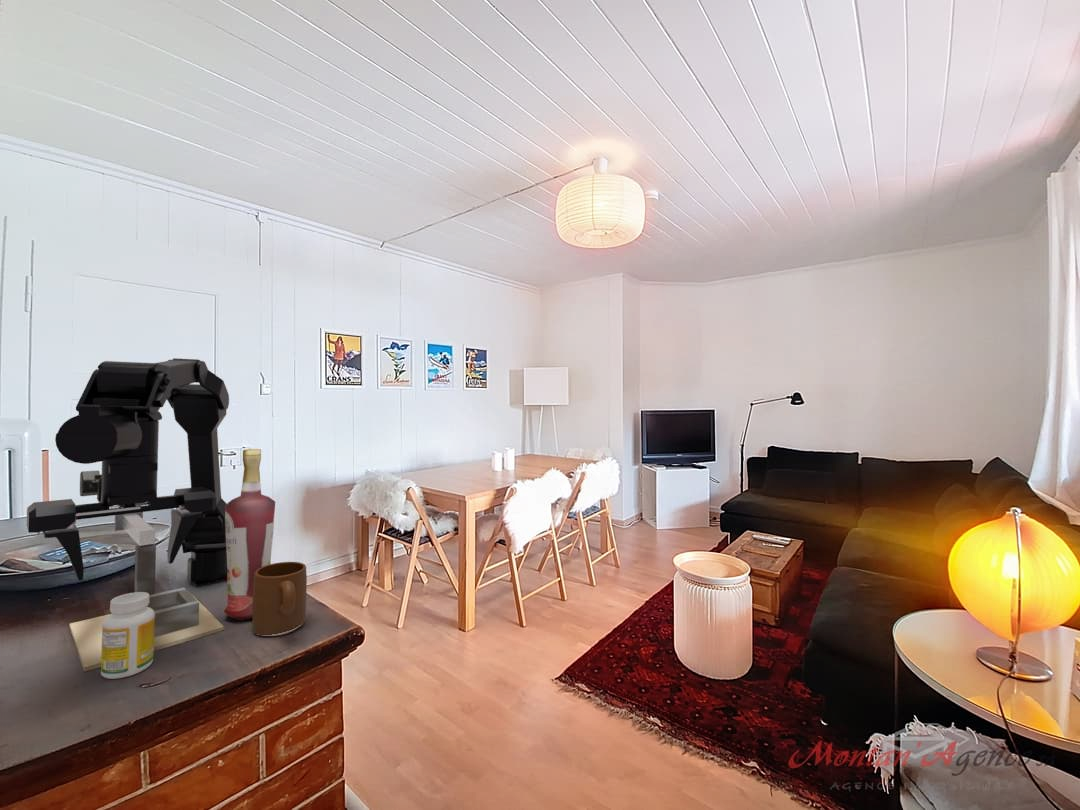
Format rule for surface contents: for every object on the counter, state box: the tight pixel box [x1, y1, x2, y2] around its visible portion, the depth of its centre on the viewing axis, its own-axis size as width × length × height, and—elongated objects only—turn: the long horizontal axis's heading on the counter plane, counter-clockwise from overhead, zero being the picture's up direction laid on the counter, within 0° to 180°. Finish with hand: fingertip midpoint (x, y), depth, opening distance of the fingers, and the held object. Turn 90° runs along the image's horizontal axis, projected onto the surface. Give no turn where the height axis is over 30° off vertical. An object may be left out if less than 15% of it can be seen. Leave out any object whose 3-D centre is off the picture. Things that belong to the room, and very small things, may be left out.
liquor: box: [223, 448, 276, 621], centre depth 81 cm, size 7×7×28 cm
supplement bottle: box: [100, 592, 155, 680], centre depth 64 cm, size 5×5×10 cm
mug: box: [252, 561, 308, 636], centre depth 75 cm, size 12×8×9 cm, turn 37°
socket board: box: [69, 544, 225, 673], centre depth 75 cm, size 16×18×11 cm
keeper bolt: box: [114, 512, 156, 546], centre depth 86 cm, size 4×17×3 cm, turn 49°
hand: (127, 570), depth 64 cm, fingers open, 9 cm apart
